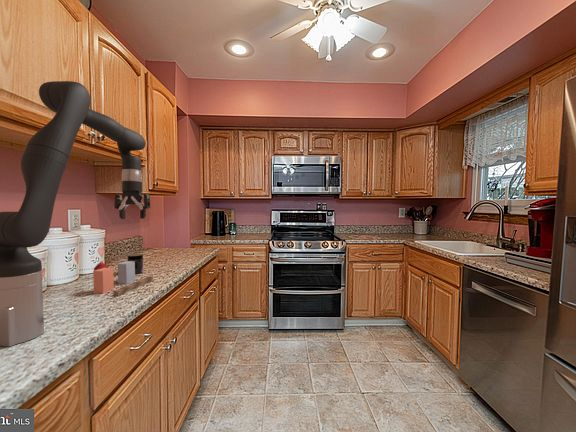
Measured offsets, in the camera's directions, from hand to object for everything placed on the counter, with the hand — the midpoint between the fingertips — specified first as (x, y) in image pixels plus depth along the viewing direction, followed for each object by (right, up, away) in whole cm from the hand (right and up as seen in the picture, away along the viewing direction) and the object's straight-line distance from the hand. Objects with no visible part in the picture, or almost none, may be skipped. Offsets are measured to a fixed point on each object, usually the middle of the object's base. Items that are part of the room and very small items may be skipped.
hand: (132, 218), depth 113 cm
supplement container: (-8, -28, +16) cm, 33 cm away
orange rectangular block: (-5, -28, -11) cm, 30 cm away
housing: (-1, -29, -5) cm, 30 cm away
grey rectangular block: (-3, -27, +1) cm, 28 cm away
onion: (-22, -28, +12) cm, 38 cm away
